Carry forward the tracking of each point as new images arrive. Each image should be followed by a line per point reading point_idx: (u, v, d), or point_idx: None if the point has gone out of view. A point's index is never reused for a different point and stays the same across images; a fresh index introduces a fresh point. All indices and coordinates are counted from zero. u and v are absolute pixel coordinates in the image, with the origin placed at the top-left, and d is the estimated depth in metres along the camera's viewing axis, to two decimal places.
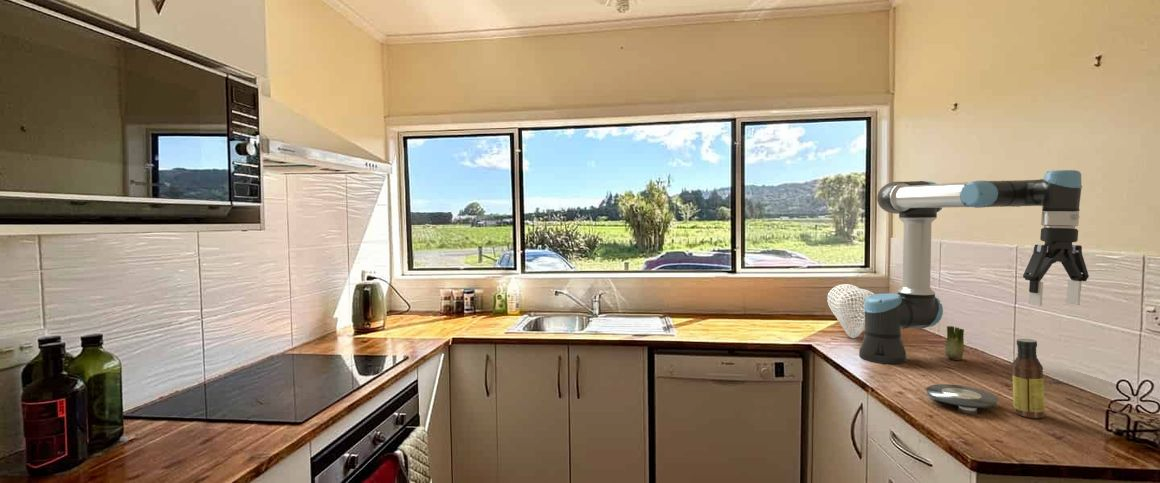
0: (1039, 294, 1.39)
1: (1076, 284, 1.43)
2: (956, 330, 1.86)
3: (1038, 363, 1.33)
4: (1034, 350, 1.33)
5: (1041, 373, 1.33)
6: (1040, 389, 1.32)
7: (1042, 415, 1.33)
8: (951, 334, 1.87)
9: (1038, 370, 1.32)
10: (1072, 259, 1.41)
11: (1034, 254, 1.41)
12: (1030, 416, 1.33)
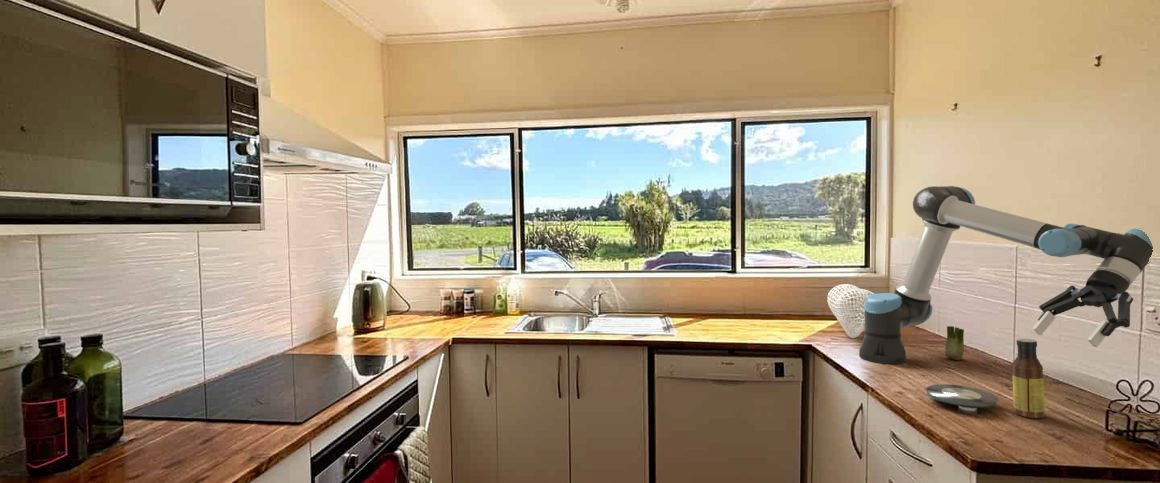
0: (1103, 337, 1.30)
1: (1052, 319, 1.43)
2: (956, 330, 1.86)
3: (1038, 363, 1.33)
4: (1034, 350, 1.33)
5: (1041, 373, 1.33)
6: (1040, 389, 1.32)
7: (1042, 415, 1.33)
8: (951, 334, 1.87)
9: (1038, 370, 1.32)
10: None
11: (1125, 301, 1.30)
12: (1030, 416, 1.33)
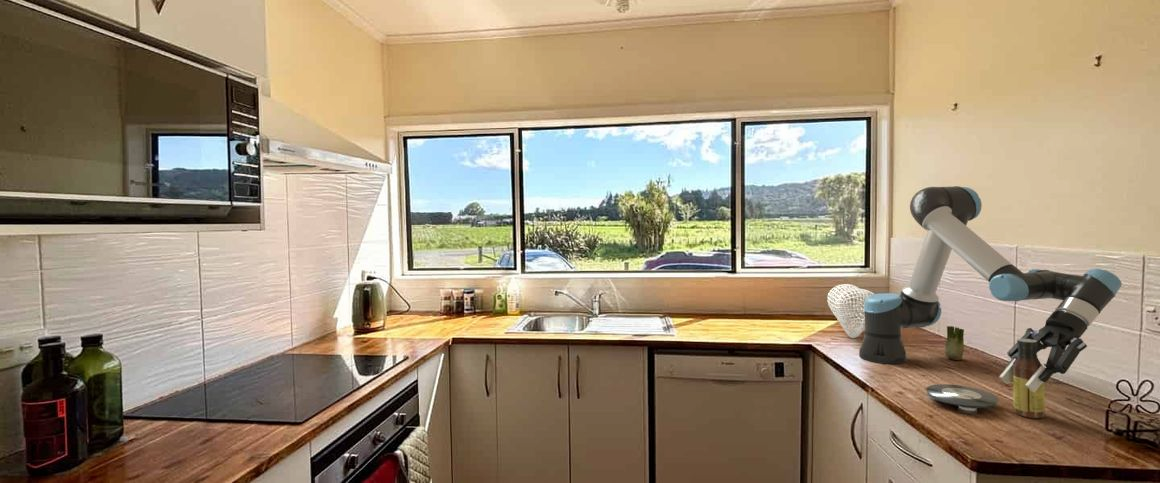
0: (1041, 383, 1.31)
1: None
2: (956, 330, 1.86)
3: (1038, 363, 1.33)
4: (1035, 350, 1.33)
5: None
6: (1040, 389, 1.32)
7: (1042, 415, 1.33)
8: (951, 334, 1.87)
9: None
10: None
11: (1074, 348, 1.30)
12: (1030, 416, 1.33)
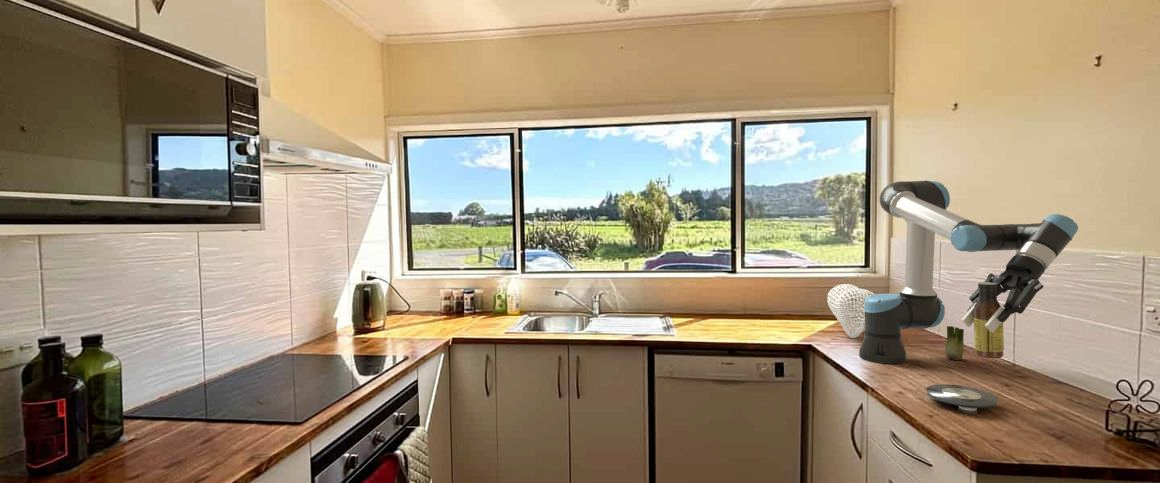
0: (1000, 323, 1.35)
1: None
2: (956, 330, 1.86)
3: (998, 305, 1.37)
4: (995, 292, 1.37)
5: None
6: (999, 330, 1.36)
7: (1001, 355, 1.37)
8: (951, 334, 1.87)
9: None
10: None
11: (1031, 288, 1.33)
12: (989, 356, 1.37)
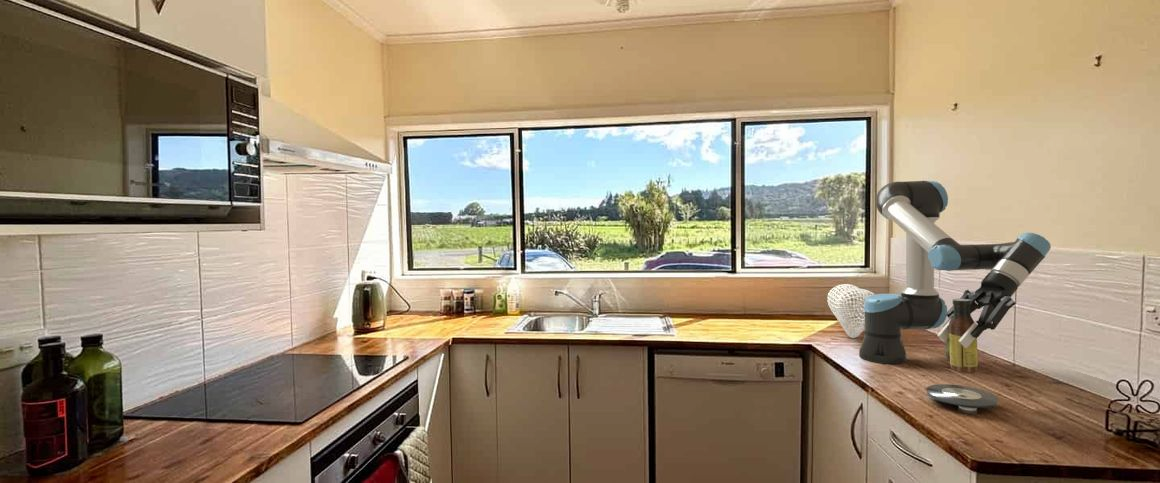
0: (973, 339, 1.39)
1: None
2: None
3: (971, 321, 1.41)
4: (968, 309, 1.41)
5: None
6: (973, 345, 1.40)
7: (975, 370, 1.40)
8: None
9: None
10: None
11: (1003, 305, 1.37)
12: (963, 371, 1.41)
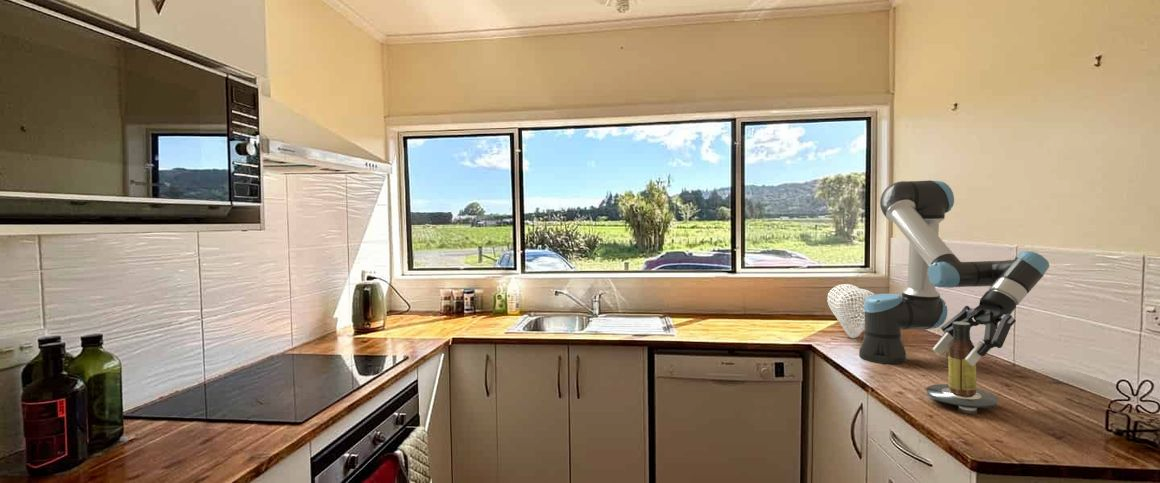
0: (980, 357, 1.38)
1: None
2: None
3: (971, 344, 1.41)
4: (968, 332, 1.41)
5: None
6: (972, 369, 1.40)
7: (973, 393, 1.41)
8: None
9: None
10: None
11: (1005, 323, 1.37)
12: (962, 394, 1.42)
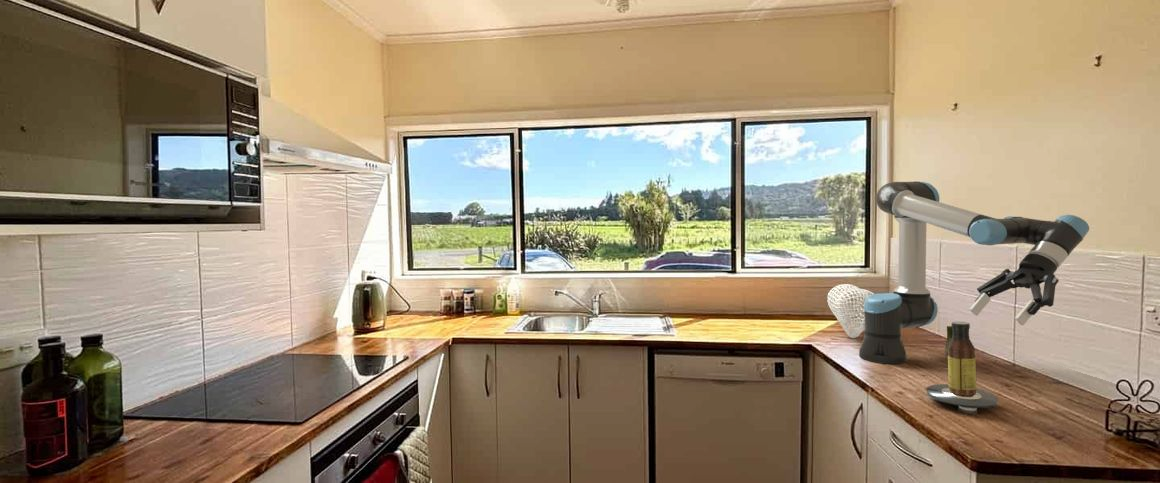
0: (1030, 316, 1.38)
1: (987, 300, 1.51)
2: None
3: (970, 344, 1.41)
4: (967, 332, 1.42)
5: (973, 353, 1.41)
6: (971, 369, 1.41)
7: (973, 393, 1.41)
8: (951, 334, 1.87)
9: (970, 350, 1.41)
10: None
11: (1051, 282, 1.38)
12: (962, 394, 1.42)
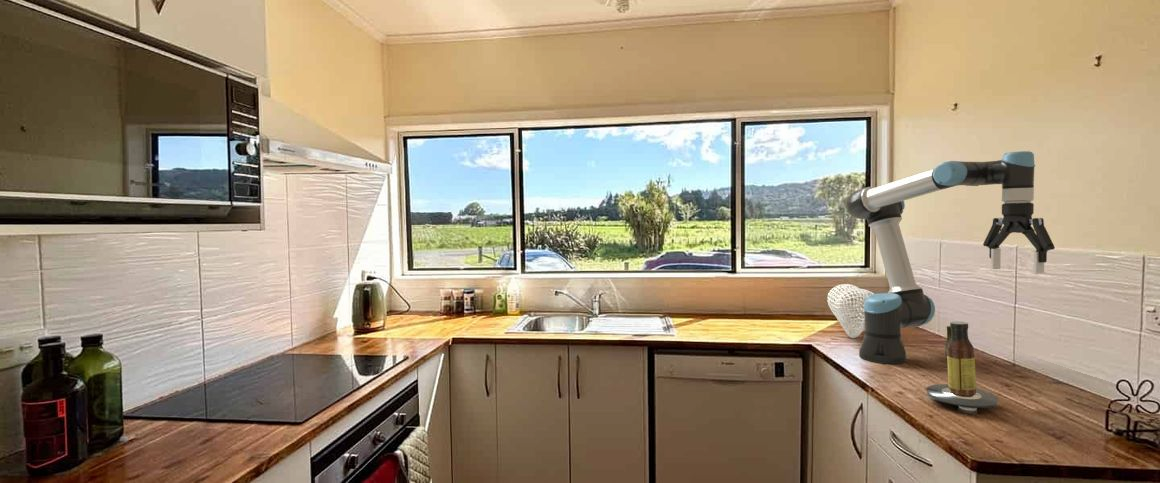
0: (1043, 263, 1.53)
1: (999, 251, 1.66)
2: None
3: (969, 344, 1.42)
4: (966, 332, 1.42)
5: (972, 353, 1.41)
6: (971, 368, 1.41)
7: (973, 393, 1.41)
8: None
9: (969, 350, 1.41)
10: None
11: (1039, 227, 1.52)
12: (962, 394, 1.42)
